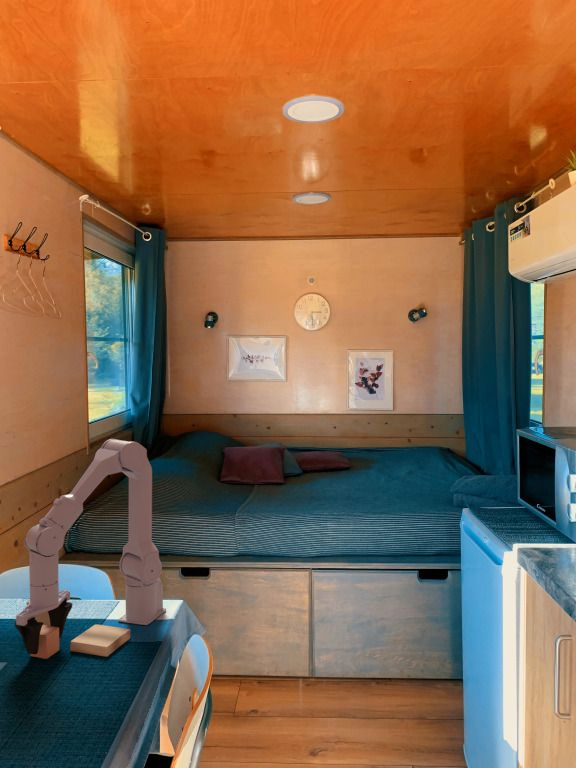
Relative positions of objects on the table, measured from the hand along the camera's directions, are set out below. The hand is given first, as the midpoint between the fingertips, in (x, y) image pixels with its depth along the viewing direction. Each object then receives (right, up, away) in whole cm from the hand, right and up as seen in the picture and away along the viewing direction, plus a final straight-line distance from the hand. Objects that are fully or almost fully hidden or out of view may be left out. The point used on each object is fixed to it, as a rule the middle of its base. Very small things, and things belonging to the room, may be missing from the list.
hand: (44, 645), depth 128 cm
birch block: (+11, -2, +4) cm, 12 cm away
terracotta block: (0, -2, 0) cm, 2 cm away
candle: (-6, -2, +14) cm, 16 cm away
